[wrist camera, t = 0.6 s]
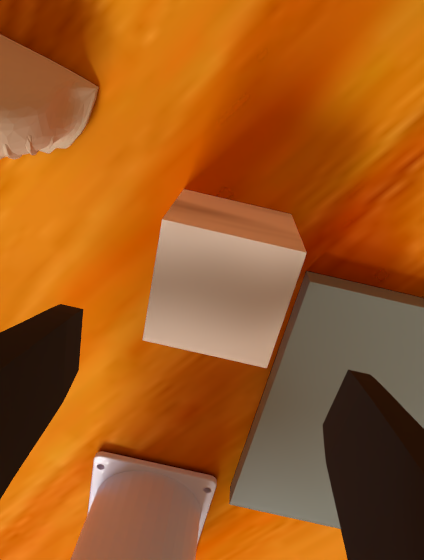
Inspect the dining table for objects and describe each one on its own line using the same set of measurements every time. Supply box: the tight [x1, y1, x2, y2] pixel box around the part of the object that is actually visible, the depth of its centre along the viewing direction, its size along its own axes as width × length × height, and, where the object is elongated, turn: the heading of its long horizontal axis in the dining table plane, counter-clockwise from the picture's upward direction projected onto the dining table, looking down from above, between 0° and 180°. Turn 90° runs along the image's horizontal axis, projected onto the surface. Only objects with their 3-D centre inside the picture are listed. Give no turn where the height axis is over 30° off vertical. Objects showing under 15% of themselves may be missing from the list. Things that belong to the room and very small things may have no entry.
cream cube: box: [143, 189, 307, 368], centre depth 16 cm, size 5×5×5 cm
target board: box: [229, 271, 424, 529], centre depth 21 cm, size 16×16×1 cm
